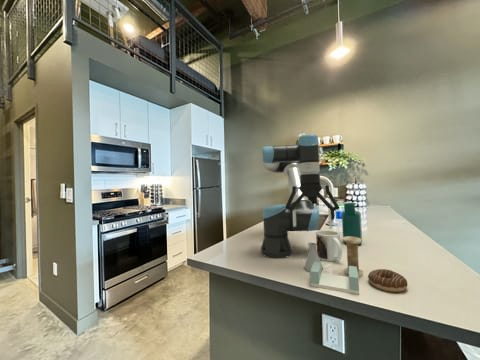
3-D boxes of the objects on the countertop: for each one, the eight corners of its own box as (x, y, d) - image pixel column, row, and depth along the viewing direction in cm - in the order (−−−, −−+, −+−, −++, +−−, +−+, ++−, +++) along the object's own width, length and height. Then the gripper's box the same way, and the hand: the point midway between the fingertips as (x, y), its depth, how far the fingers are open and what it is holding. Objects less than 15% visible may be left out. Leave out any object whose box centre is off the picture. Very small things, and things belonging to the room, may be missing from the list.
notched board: (311, 286, 70) (310, 271, 70) (314, 274, 78) (313, 261, 78) (359, 294, 64) (358, 278, 64) (357, 281, 72) (356, 266, 72)
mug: (342, 254, 97) (341, 230, 97) (342, 264, 86) (341, 237, 86) (317, 252, 102) (316, 229, 102) (315, 261, 91) (314, 235, 91)
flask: (325, 273, 79) (323, 246, 79) (305, 272, 81) (303, 246, 81) (321, 265, 87) (320, 241, 87) (303, 264, 88) (302, 240, 88)
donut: (417, 293, 64) (416, 279, 64) (384, 296, 63) (383, 282, 63) (389, 277, 74) (389, 265, 75) (361, 279, 74) (360, 268, 74)
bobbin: (344, 275, 77) (342, 240, 77) (344, 269, 82) (342, 235, 82) (363, 278, 74) (361, 241, 74) (362, 271, 79) (360, 237, 79)
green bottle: (345, 240, 119) (343, 201, 120) (362, 242, 114) (360, 201, 115) (342, 244, 111) (340, 203, 112) (360, 247, 106) (358, 203, 107)
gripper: (276, 175, 86) (278, 227, 86) (344, 171, 75) (347, 231, 75) (281, 175, 93) (283, 223, 93) (344, 172, 82) (346, 226, 82)
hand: (312, 226), depth 84 cm, fingers open, 13 cm apart
